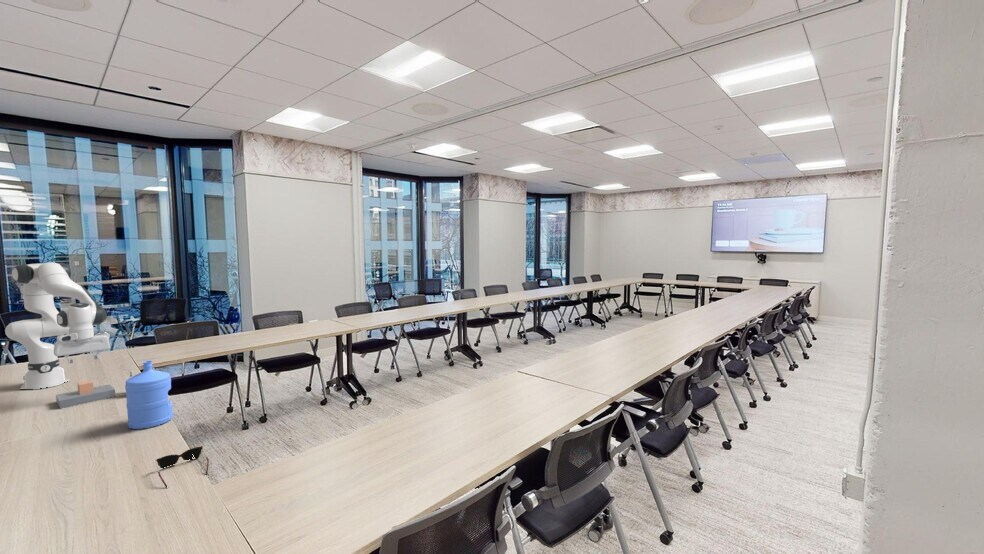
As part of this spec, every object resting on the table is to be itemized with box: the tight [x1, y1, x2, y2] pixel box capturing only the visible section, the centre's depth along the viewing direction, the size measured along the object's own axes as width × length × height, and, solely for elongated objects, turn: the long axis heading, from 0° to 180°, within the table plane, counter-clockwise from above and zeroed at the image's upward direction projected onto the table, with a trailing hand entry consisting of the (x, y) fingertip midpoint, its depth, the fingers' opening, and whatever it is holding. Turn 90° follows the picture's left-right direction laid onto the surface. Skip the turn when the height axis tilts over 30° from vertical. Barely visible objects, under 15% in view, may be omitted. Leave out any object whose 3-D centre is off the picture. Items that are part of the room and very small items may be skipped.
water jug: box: [124, 360, 174, 430], centre depth 179 cm, size 16×16×28 cm
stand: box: [55, 384, 116, 410], centre depth 207 cm, size 13×20×4 cm, turn 143°
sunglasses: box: [155, 445, 209, 488], centre depth 140 cm, size 14×16×5 cm
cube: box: [77, 380, 94, 394], centre depth 206 cm, size 5×5×5 cm
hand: (83, 361), depth 205 cm, fingers open, 8 cm apart
